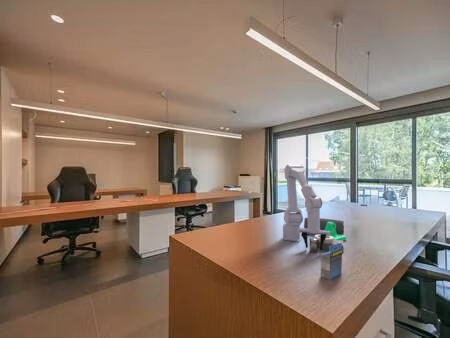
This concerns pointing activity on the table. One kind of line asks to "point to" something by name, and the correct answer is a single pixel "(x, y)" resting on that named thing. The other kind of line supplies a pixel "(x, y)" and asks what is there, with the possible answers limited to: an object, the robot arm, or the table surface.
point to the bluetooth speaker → (323, 223)
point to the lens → (313, 245)
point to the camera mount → (334, 231)
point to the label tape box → (332, 262)
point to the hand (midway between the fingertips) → (313, 248)
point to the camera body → (328, 242)
